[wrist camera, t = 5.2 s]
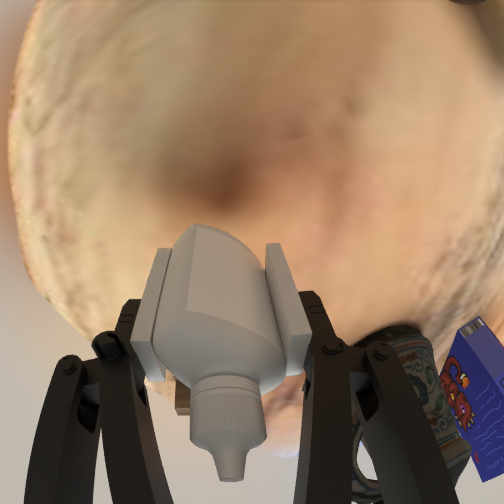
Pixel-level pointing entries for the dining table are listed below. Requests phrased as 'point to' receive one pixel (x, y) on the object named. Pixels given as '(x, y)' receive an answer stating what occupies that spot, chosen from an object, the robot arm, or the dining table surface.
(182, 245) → the eye dropper bottle
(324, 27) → the dining table surface
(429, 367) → the beer stein
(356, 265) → the dining table surface
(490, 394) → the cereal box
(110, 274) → the dining table surface
